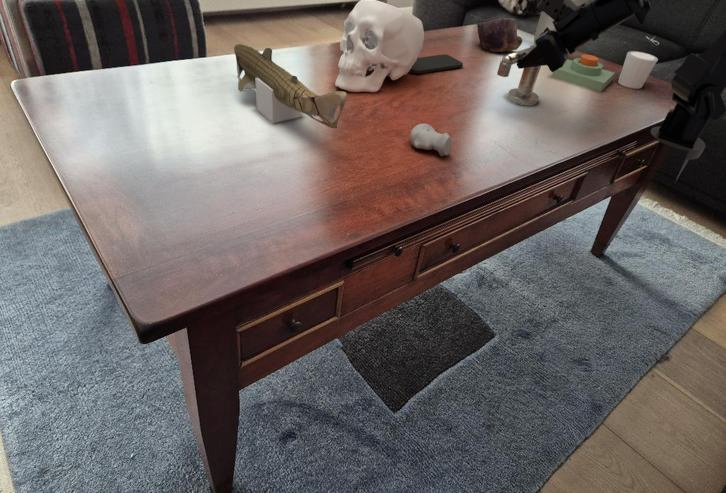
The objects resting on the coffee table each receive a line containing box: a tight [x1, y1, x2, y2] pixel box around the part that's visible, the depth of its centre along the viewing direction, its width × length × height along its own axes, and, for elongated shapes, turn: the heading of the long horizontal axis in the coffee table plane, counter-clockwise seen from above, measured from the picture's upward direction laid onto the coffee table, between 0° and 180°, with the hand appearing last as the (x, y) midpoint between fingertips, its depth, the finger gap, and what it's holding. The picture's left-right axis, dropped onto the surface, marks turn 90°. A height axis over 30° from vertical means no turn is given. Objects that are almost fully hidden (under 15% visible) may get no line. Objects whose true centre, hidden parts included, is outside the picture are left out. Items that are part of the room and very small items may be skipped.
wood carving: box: [233, 43, 348, 129], centre depth 84 cm, size 9×35×11 cm, turn 37°
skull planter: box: [334, 0, 425, 93], centre depth 102 cm, size 14×20×19 cm
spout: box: [496, 44, 536, 78], centre depth 95 cm, size 15×3×4 cm, turn 135°
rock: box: [476, 17, 523, 53], centre depth 127 cm, size 12×9×10 cm
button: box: [579, 54, 600, 67], centre depth 115 cm, size 4×4×2 cm
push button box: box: [551, 57, 616, 93], centre depth 117 cm, size 12×10×4 cm
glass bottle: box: [533, 0, 591, 53], centre depth 120 cm, size 10×10×28 cm
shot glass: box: [617, 50, 659, 90], centre depth 116 cm, size 7×7×7 cm
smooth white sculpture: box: [409, 123, 453, 157], centre depth 82 cm, size 4×8×5 cm
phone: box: [409, 53, 464, 75], centre depth 115 cm, size 7×1×15 cm
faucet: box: [507, 66, 542, 107], centre depth 102 cm, size 6×6×9 cm
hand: (517, 66), depth 93 cm, fingers closed
